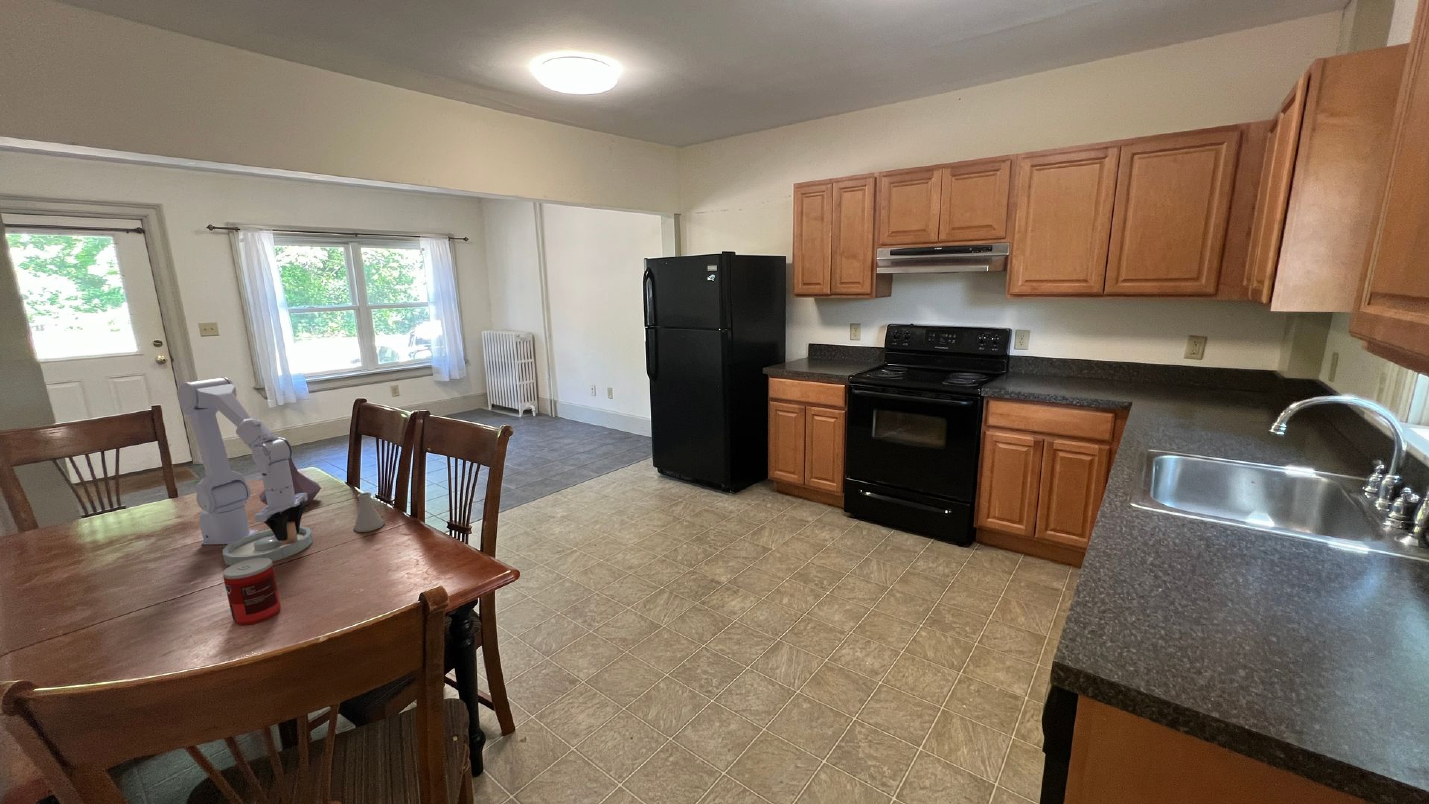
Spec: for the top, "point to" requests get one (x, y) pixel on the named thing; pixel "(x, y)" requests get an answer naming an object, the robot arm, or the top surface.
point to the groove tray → (265, 546)
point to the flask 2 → (367, 515)
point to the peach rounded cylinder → (290, 533)
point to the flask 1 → (299, 485)
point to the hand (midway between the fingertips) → (288, 536)
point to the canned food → (252, 591)
